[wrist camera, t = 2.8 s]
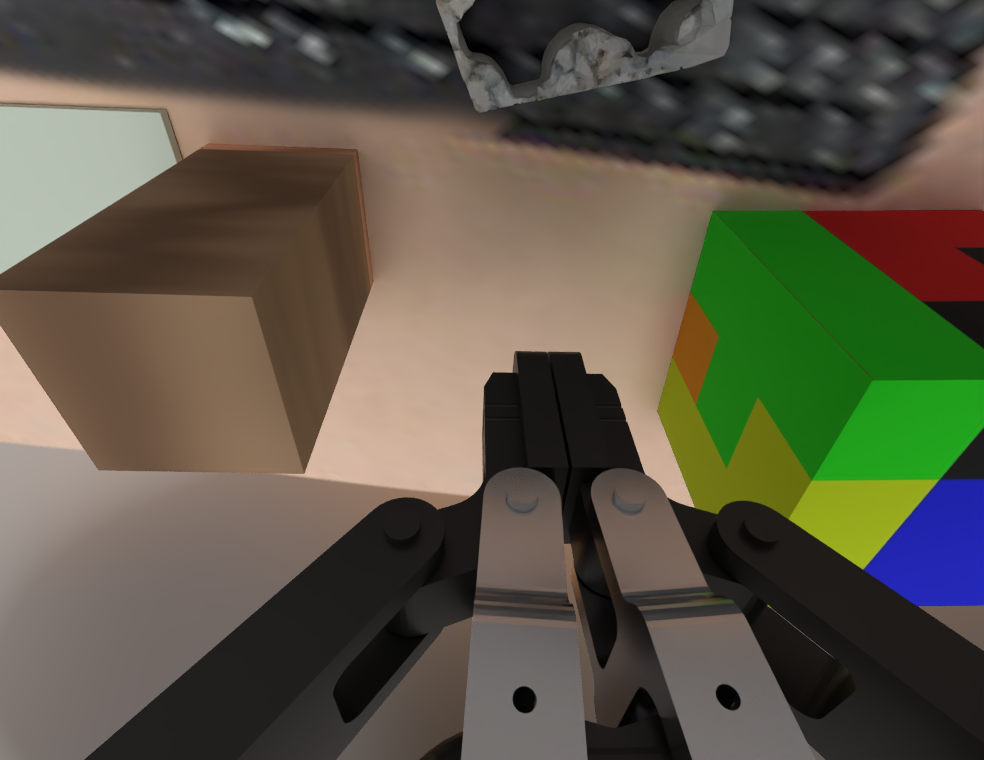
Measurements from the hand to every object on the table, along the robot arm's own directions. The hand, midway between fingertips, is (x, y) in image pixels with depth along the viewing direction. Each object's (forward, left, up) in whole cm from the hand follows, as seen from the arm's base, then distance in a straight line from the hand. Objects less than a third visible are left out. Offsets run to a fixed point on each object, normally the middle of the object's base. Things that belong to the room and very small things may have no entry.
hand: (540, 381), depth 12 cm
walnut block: (+8, 0, -9) cm, 12 cm away
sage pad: (+16, 0, -9) cm, 19 cm away
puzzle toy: (-12, +4, -9) cm, 16 cm away
